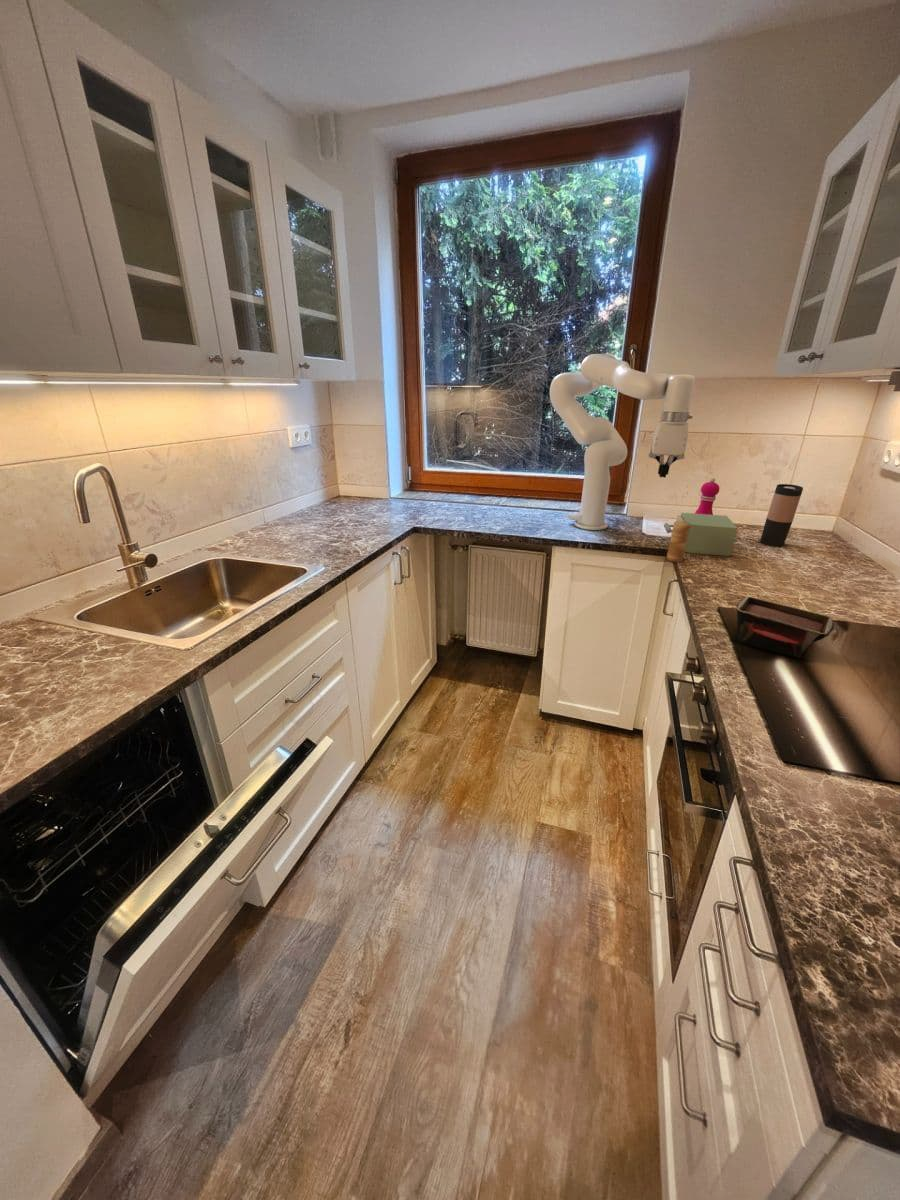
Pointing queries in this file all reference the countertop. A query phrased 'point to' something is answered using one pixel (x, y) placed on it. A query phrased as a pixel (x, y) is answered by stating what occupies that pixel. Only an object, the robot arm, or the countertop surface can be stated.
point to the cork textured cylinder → (678, 541)
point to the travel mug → (781, 514)
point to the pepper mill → (708, 497)
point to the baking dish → (779, 626)
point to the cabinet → (710, 534)
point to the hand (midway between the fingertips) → (662, 476)
